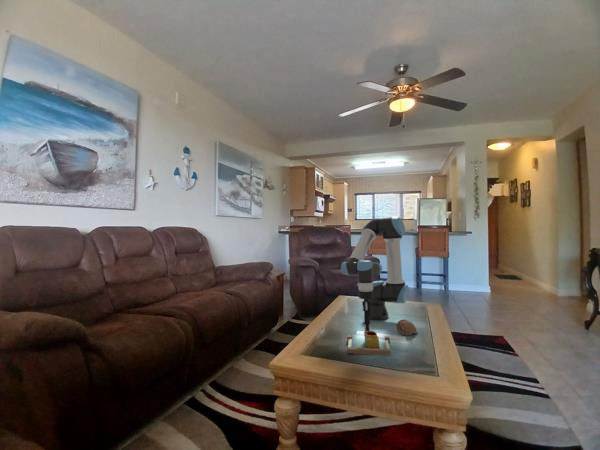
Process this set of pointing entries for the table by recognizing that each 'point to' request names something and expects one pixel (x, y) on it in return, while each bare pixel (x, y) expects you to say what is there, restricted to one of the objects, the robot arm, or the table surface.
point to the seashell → (406, 327)
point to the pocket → (369, 350)
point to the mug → (371, 339)
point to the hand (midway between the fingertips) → (367, 336)
